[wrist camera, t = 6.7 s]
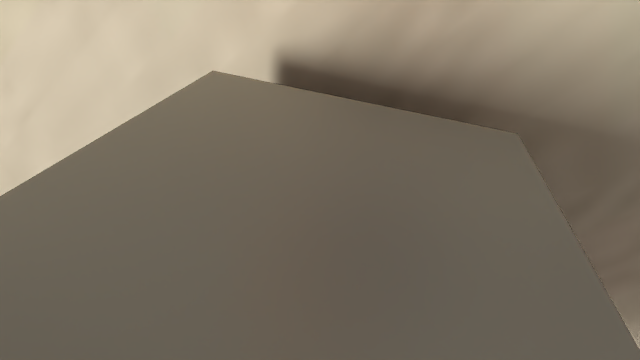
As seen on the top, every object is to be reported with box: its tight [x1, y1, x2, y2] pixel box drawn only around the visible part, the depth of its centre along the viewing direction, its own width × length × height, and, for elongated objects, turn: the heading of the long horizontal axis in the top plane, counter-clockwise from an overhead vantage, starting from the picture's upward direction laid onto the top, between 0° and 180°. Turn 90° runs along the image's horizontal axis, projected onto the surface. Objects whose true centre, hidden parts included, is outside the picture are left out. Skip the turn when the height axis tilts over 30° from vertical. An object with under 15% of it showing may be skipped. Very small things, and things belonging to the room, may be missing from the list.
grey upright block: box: [0, 71, 640, 360], centre depth 8 cm, size 8×8×9 cm
